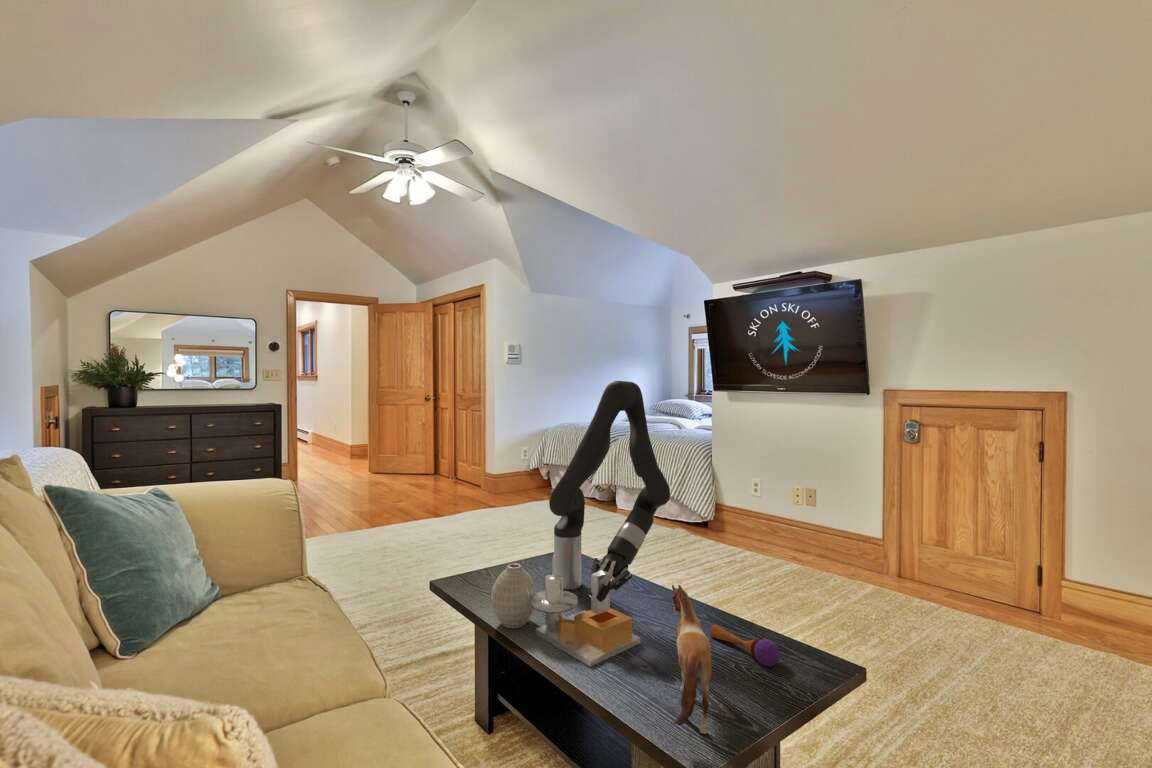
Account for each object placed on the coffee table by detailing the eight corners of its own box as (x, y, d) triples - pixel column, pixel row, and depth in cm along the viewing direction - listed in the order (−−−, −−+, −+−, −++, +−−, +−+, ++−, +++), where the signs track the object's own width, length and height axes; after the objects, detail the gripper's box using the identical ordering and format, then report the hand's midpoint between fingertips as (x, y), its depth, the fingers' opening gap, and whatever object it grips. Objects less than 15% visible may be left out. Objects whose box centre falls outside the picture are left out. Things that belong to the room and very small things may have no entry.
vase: (527, 610, 163) (527, 555, 163) (543, 628, 152) (543, 569, 151) (485, 619, 158) (485, 561, 158) (499, 638, 146) (499, 576, 146)
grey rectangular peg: (591, 611, 145) (591, 574, 144) (603, 606, 148) (603, 570, 147) (597, 614, 143) (597, 576, 143) (609, 609, 146) (609, 572, 145)
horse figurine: (671, 665, 133) (671, 582, 132) (703, 668, 131) (704, 584, 131) (672, 753, 102) (672, 644, 102) (714, 758, 101) (715, 648, 100)
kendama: (722, 618, 150) (785, 643, 133) (720, 641, 149) (784, 668, 132) (707, 620, 147) (770, 644, 130) (705, 643, 146) (768, 671, 129)
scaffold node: (520, 632, 150) (520, 576, 149) (577, 611, 163) (577, 559, 163) (582, 670, 130) (582, 606, 130) (640, 643, 144) (640, 584, 144)
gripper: (602, 529, 155) (569, 583, 147) (639, 541, 144) (605, 599, 137) (615, 544, 159) (584, 597, 151) (652, 556, 148) (620, 614, 140)
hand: (594, 598), depth 144 cm, fingers closed on grey rectangular peg, 2 cm apart
